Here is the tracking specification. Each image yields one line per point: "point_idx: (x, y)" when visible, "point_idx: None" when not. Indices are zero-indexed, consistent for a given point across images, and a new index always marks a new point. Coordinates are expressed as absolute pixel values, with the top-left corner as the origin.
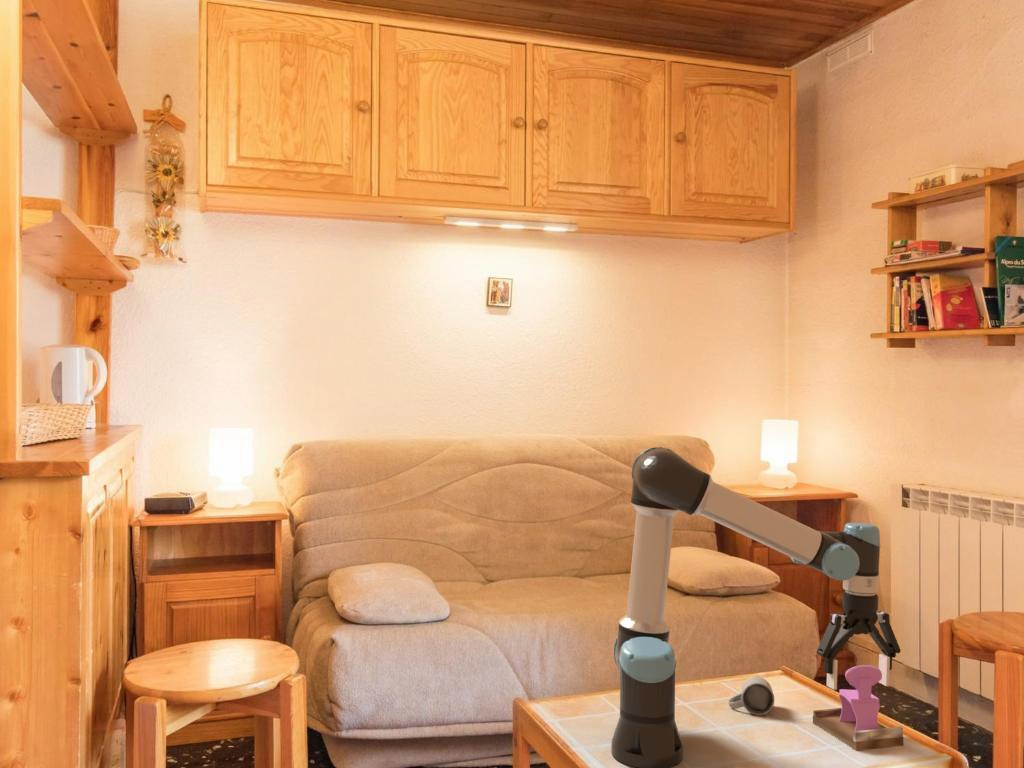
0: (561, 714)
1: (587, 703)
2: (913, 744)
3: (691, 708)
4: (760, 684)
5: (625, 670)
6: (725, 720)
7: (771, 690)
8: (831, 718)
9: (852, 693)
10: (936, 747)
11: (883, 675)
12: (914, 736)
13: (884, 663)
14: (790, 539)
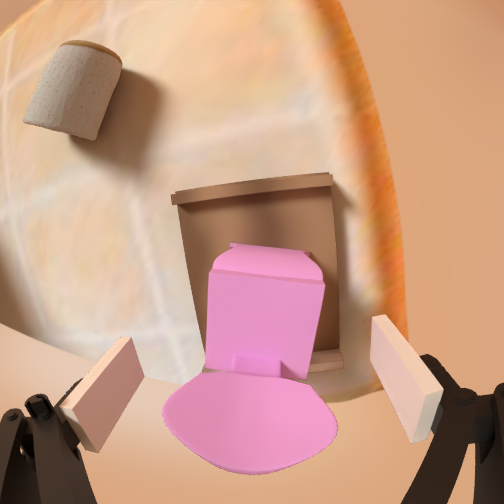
0: None
1: None
2: (361, 343)
3: (4, 113)
4: (37, 124)
5: None
6: (25, 170)
7: (67, 130)
8: (217, 221)
9: (242, 315)
10: None
11: (383, 364)
12: (395, 304)
13: (401, 406)
14: None
